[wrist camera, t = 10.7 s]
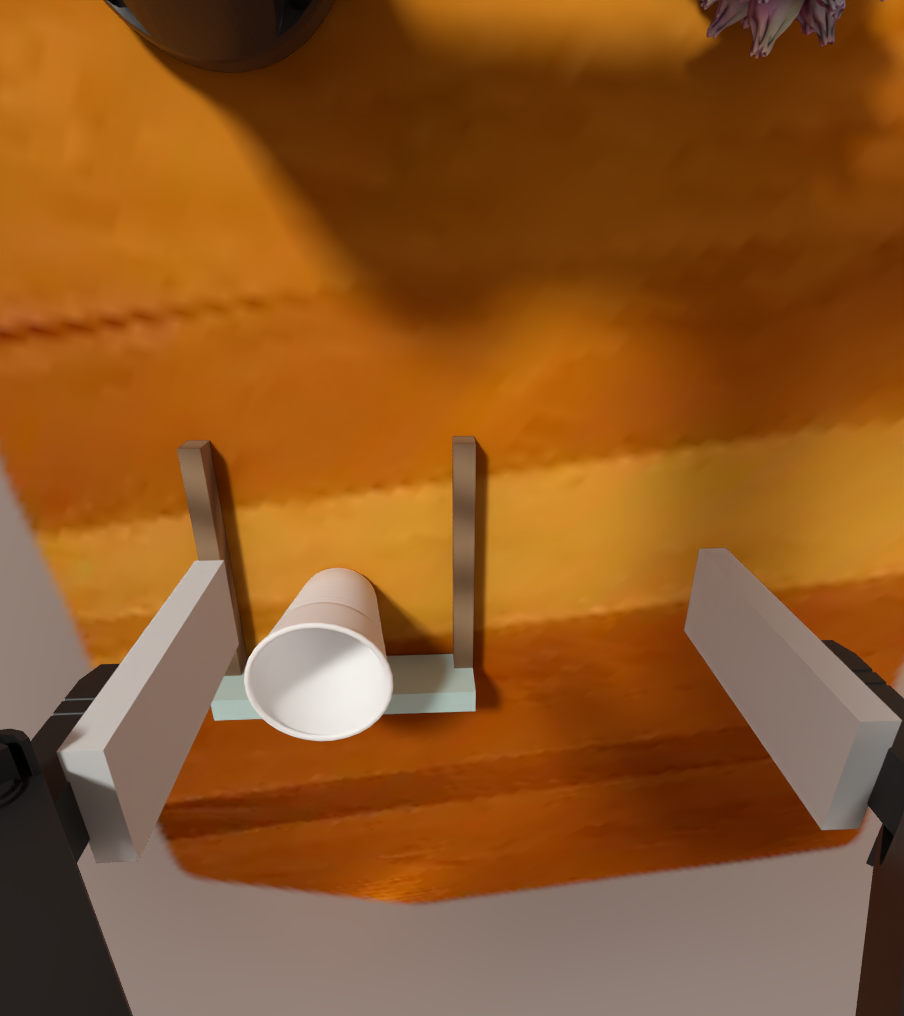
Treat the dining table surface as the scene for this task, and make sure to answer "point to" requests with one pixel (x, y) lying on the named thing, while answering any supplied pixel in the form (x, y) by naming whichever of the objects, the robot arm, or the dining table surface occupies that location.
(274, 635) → the cup
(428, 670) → the block
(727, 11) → the flower
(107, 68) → the dining table surface
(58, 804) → the robot arm
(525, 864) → the dining table surface
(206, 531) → the channel
